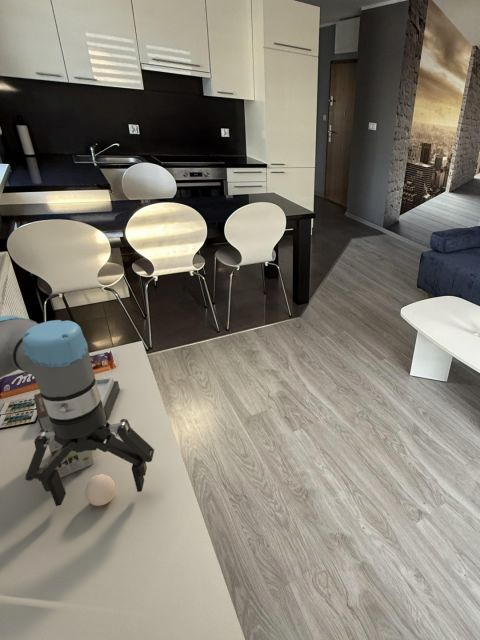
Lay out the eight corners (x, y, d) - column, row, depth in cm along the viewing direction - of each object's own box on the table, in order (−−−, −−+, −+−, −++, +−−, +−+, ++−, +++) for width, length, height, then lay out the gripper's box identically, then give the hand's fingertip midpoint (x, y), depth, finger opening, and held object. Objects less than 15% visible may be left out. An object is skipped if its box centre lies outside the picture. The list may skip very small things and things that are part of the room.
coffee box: (95, 463, 86) (78, 406, 79) (59, 479, 82) (38, 419, 75) (86, 438, 92) (69, 382, 85) (52, 451, 88) (32, 394, 81)
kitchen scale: (40, 429, 93) (34, 413, 91) (59, 395, 103) (54, 381, 101) (107, 421, 97) (103, 405, 95) (120, 389, 107) (116, 375, 105)
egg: (83, 510, 76) (75, 486, 73) (100, 489, 80) (92, 465, 77) (108, 513, 76) (101, 489, 73) (123, 492, 80) (117, 468, 77)
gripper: (-27, 433, 61) (16, 523, 70) (152, 412, 68) (169, 496, 77) (-2, 402, 67) (34, 488, 77) (159, 385, 74) (174, 466, 83)
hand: (102, 492), depth 77 cm, fingers open, 13 cm apart
